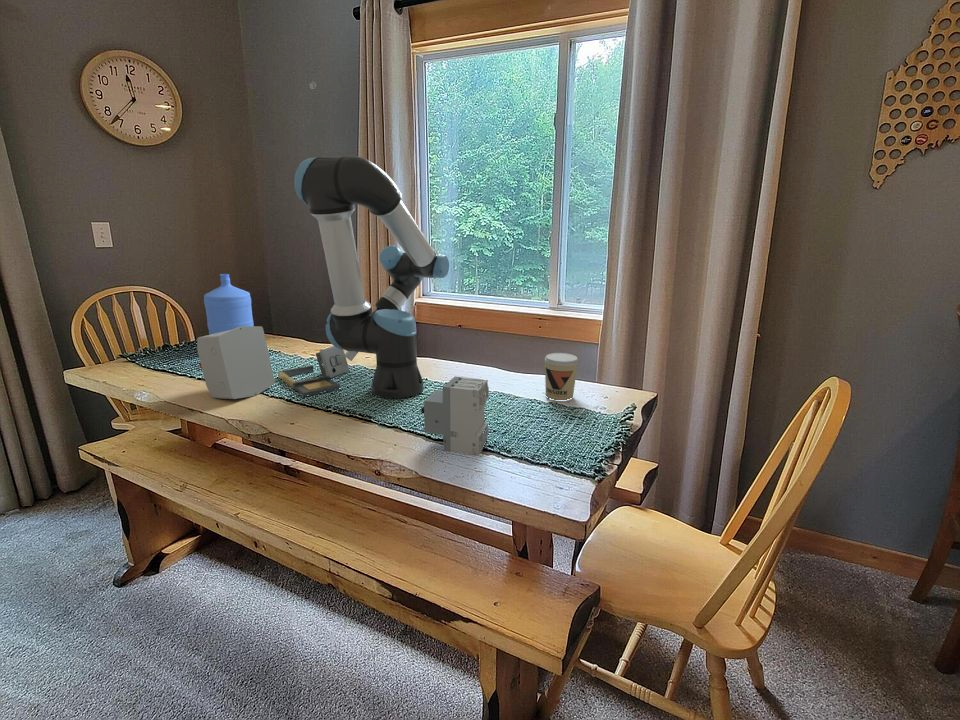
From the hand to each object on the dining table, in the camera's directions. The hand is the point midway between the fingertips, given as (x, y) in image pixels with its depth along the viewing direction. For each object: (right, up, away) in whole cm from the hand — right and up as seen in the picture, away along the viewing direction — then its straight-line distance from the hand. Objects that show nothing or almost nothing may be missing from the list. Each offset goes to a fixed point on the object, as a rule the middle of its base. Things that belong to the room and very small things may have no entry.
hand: (347, 358), depth 165 cm
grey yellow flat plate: (-9, -8, -11) cm, 16 cm away
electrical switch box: (-28, -10, -19) cm, 35 cm away
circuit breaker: (+37, -20, -50) cm, 66 cm away
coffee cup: (+66, -11, -21) cm, 70 cm away
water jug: (-50, +4, +26) cm, 56 cm away
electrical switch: (-4, -5, -3) cm, 7 cm away
